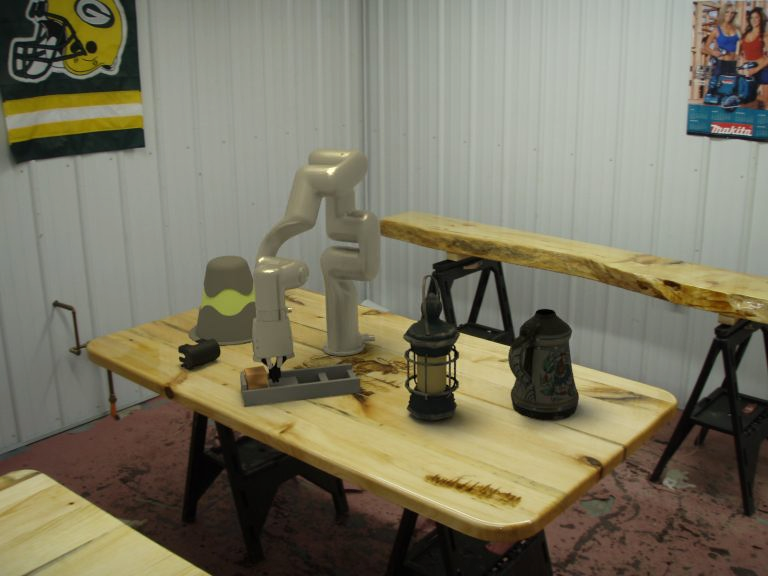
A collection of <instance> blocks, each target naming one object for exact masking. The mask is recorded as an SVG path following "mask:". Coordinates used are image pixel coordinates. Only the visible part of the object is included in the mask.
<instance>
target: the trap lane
mask: <svg viewBox="0 0 768 576" xmlns="http://www.w3.org/2000/svg"><path fill="white" fill-rule="evenodd" d="M239 377H240V390H241V395H242V396H241V397H242V401H243V402H242V403H243V406H244V408H246V407H253V406H255V407H256V406H262V405H270V404H276V403H277V404H279V403H285V402H295V401H302V400H303V401H304V400H311V399H317V398H318V399H319V398H329V397H337V396H344V395H349V394H350V395H351V394H352V395H353V394H361V377H360V376H357V375H356V374H355V372H354V371H353V364H352V362H348V363H341V364H332V365H331V364H330V365H323V366H322V365H321V366H313V367H312V366H311V367H306V368H304V367H303V368H298V369H287V370H281V378H279V382H275V383H273V382H272V379H269V371H267V380H268V388H261V389H253V390H247V384H246V379H245V373H244V371H239Z"/></svg>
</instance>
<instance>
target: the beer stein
mask: <svg viewBox="0 0 768 576" xmlns="http://www.w3.org/2000/svg"><path fill="white" fill-rule="evenodd" d="M518 333H519V334H518V336H517V337H516V338H515V339H514V340H513V341H512V343H511V345H510V348H509V350H508V356H507V361H508V365H509V368H510V371H511V373H512V375H513V376H514V377H515V381H514V383H513V387H512V388H511V390H510V398H511V404H512V407H513V410H514V411H515V412H516V413H518V414H520V415H521V416H524V417H526V418H529V419H533V420H537V421H538V420H539V421H560V420H565V419H567V418H570V417H571V416H573V415H574V414H575V413H576V411H577V408H578V404H579V400H580V394H579V390H578V389H577V386H576V382H575V377H574V372H573V365H572V358H571V357H572V355H571V346H570V339H571V337H572V334H573V330H572V327H571V326H570V324H568V323H567V322H566V321H565V320H563V319H562V318H561V317H559V316H558V315H557V314H556V311H555V310H554V309H550V308H540V309H539V308H538V309H537V310H536V311H535V313H534V315H533V316H531V317H530V318H529V319H527V320H526V321H524V322H523V324H522V325H521V326H520V327H519V332H518Z"/></svg>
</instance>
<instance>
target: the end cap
mask: <svg viewBox="0 0 768 576" xmlns="http://www.w3.org/2000/svg"><path fill="white" fill-rule="evenodd" d="M194 342H195V343H196V344H189V343H185V344H181V345H179V346H178V348H177V349H178V350H177V351H178V352H177V353H179V354H181V355H184V356H183V357H182V356H178V360H179V363H181V364H180V367H181V368H183V369H186V370H193V369H196V368H198V367H201V366H204V365H207V364H209V363H212V362H215V361H216V360H218V359H219V357H220V356H221V352H222V350H221V347H220V345H219V344H218V342H217V341H216V340H215V339H210V340H206V339H203V338H202V339H199V340H196V341H194Z"/></svg>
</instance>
